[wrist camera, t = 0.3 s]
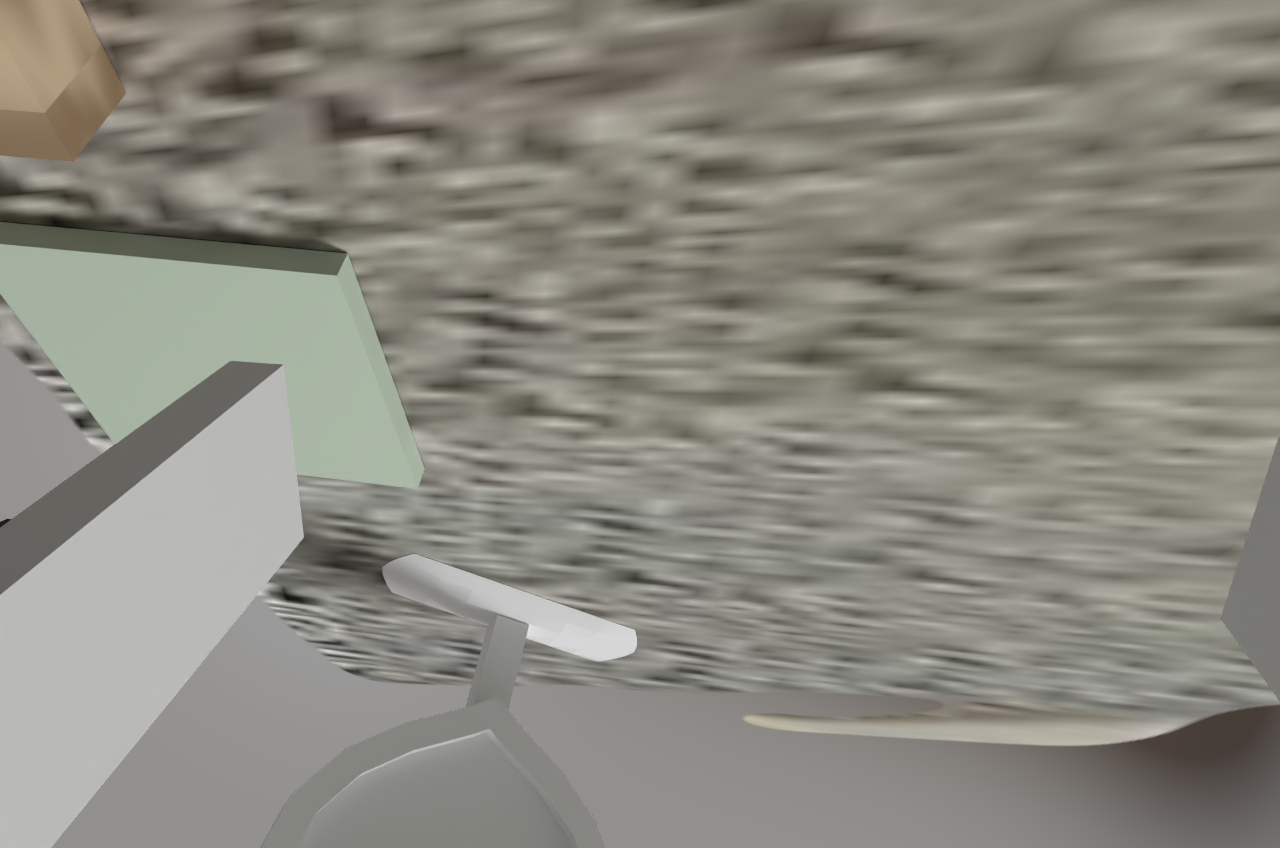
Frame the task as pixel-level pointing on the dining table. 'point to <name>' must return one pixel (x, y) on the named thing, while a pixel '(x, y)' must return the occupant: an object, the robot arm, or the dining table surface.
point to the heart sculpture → (458, 741)
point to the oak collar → (52, 79)
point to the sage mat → (212, 336)
